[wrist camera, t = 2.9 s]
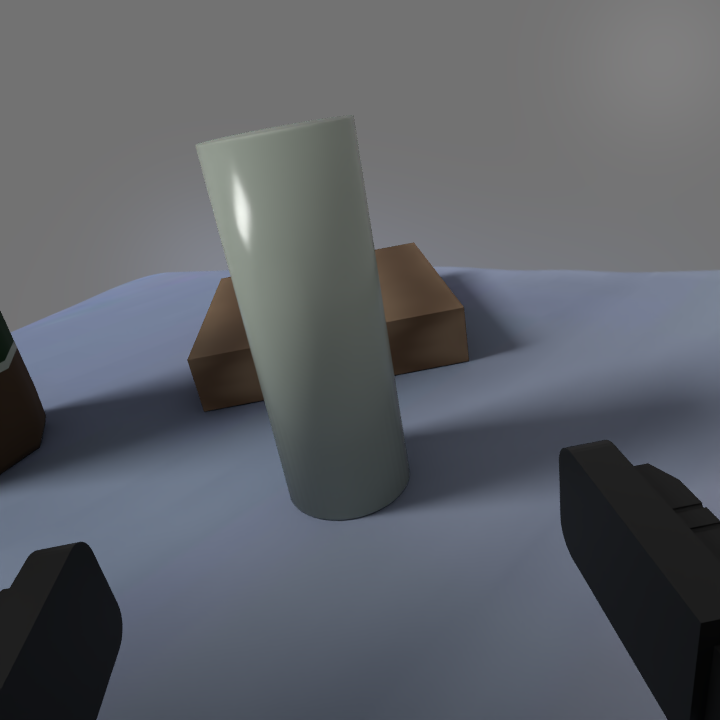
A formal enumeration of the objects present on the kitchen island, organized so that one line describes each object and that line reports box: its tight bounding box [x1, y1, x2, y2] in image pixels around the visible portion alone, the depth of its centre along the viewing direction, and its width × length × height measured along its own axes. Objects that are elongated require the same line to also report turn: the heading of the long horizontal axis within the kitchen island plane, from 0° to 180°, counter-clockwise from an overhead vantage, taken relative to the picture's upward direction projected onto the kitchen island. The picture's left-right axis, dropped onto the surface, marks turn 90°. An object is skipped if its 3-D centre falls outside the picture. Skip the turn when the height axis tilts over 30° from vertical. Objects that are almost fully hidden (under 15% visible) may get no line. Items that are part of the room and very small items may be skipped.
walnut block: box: [188, 243, 469, 412], centre depth 36 cm, size 14×14×3 cm
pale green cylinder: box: [196, 115, 410, 520], centre depth 20 cm, size 5×5×13 cm
